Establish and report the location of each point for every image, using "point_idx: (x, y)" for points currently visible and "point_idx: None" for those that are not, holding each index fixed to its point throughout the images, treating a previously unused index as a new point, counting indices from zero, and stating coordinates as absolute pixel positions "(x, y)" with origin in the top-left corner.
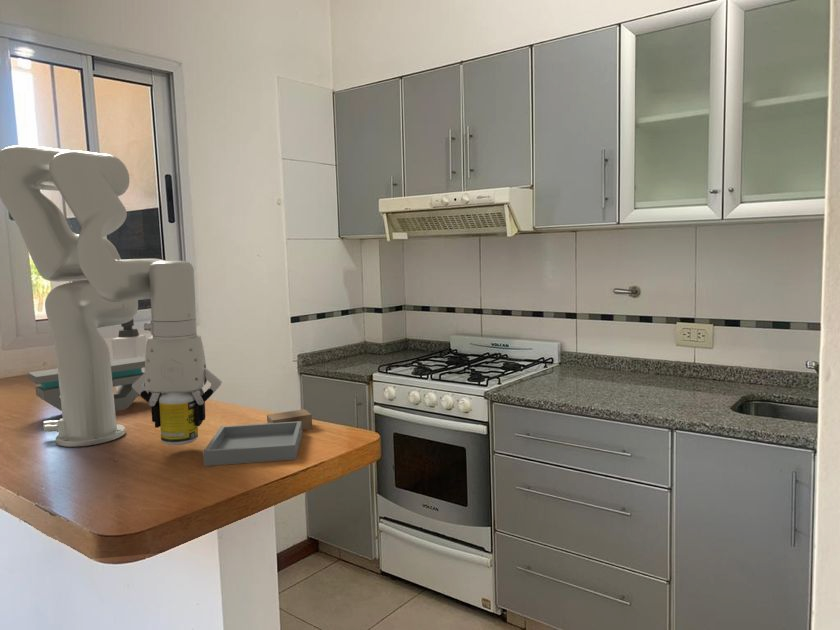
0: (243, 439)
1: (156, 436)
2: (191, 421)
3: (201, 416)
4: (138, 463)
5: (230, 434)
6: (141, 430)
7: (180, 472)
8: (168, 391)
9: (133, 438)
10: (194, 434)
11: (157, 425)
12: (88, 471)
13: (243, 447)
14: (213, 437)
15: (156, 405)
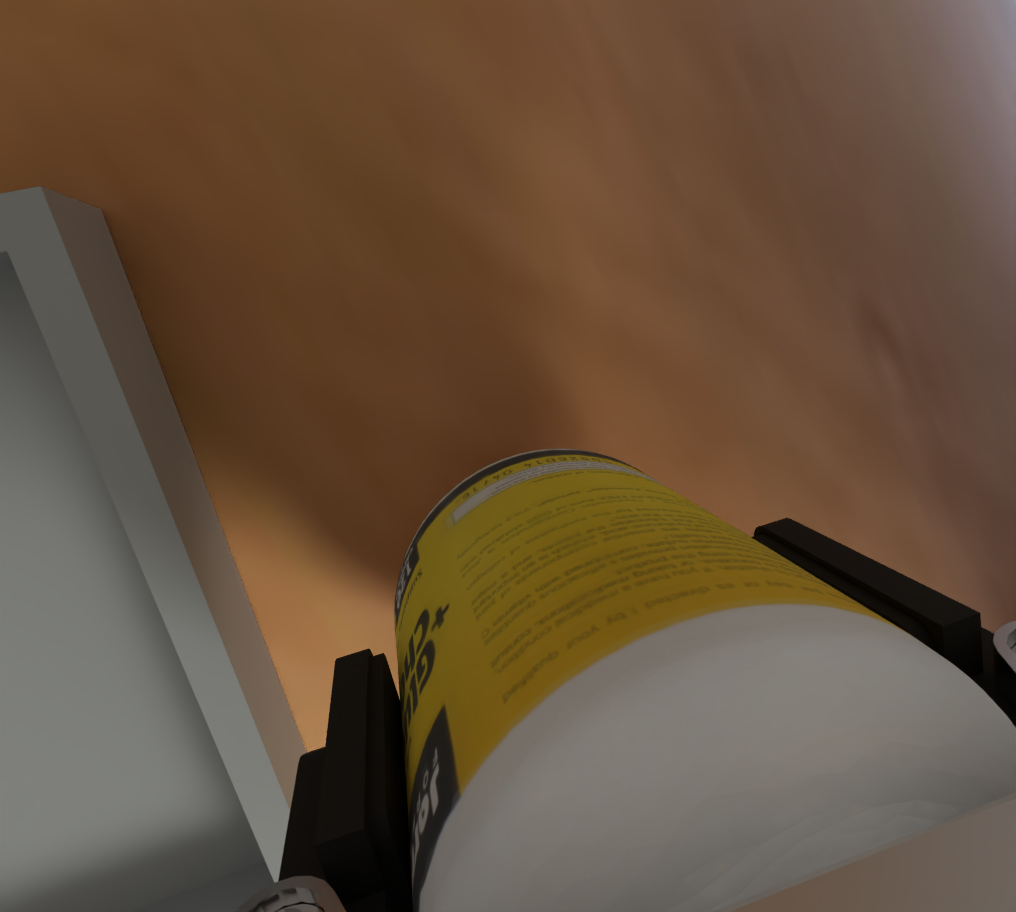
0: (87, 830)
1: None
2: (411, 646)
3: (320, 768)
4: (705, 281)
5: (252, 883)
6: None
7: (240, 44)
8: (988, 809)
9: None
10: (395, 606)
11: (770, 529)
12: (961, 111)
13: None
14: (220, 646)
15: None
